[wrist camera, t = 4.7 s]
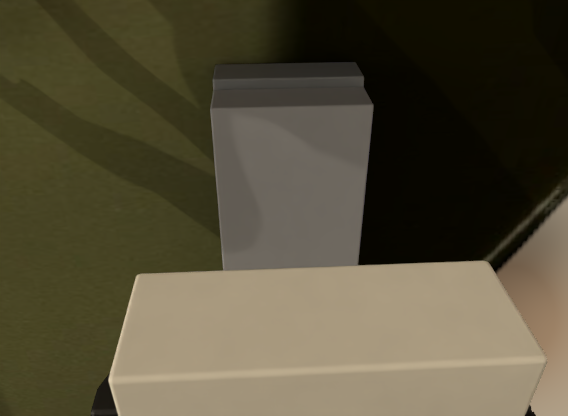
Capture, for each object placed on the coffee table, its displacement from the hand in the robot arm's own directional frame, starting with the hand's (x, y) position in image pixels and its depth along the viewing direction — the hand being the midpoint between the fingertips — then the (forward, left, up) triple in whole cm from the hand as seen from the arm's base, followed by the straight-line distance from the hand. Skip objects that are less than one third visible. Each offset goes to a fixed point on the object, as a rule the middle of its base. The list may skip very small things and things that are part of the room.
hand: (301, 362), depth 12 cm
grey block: (0, 0, -8) cm, 8 cm away
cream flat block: (0, 0, +1) cm, 1 cm away
